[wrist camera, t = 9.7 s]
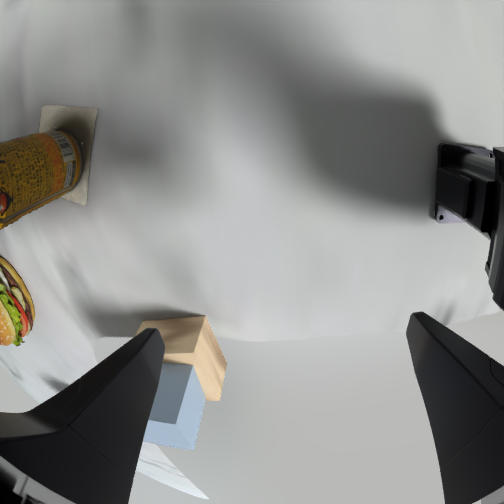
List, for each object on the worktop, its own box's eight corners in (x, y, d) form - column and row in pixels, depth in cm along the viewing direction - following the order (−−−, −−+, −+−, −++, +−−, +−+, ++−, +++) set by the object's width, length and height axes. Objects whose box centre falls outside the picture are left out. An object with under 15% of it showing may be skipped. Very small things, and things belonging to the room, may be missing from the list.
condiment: (36, 189, 20) (-54, 239, 10) (43, 104, 17) (-62, 124, 6) (87, 205, 21) (-12, 273, 10) (100, 109, 17) (-24, 124, 6)
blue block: (193, 364, 21) (175, 424, 16) (205, 397, 24) (193, 450, 18) (141, 360, 22) (117, 413, 16) (158, 392, 24) (141, 441, 19)
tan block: (206, 314, 25) (193, 352, 21) (226, 363, 28) (219, 400, 24) (143, 319, 26) (124, 353, 22) (169, 365, 29) (157, 398, 25)
